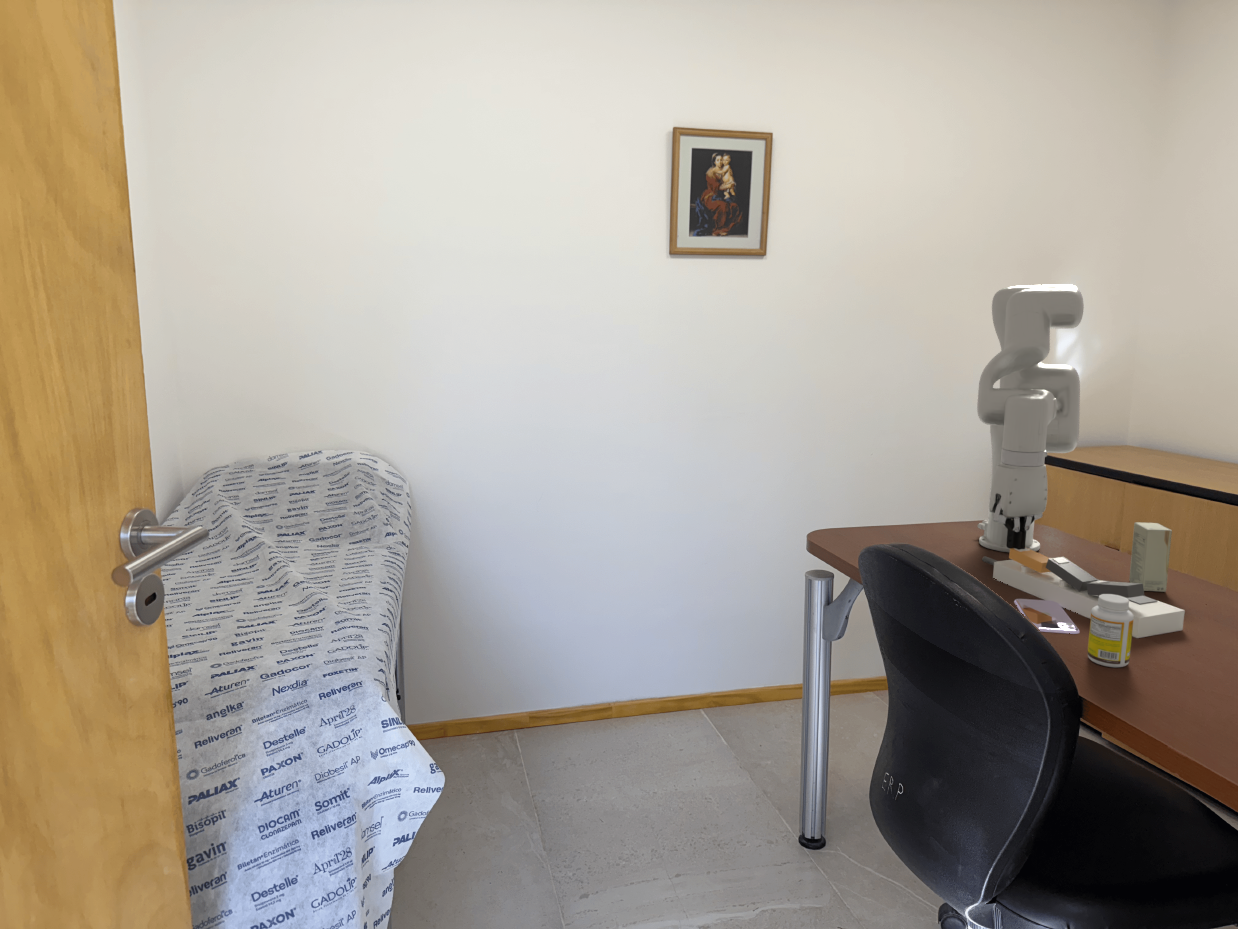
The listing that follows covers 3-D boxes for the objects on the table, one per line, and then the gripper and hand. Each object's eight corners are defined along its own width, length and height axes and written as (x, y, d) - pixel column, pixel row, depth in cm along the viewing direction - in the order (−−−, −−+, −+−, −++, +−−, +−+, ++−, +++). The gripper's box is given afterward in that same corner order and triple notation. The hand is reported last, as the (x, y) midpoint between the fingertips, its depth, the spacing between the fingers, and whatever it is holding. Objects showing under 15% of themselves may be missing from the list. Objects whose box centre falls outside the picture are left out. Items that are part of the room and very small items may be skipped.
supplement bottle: (1111, 652, 126) (1118, 591, 124) (1137, 667, 120) (1144, 603, 119) (1078, 654, 125) (1084, 592, 124) (1102, 670, 120) (1109, 605, 118)
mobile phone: (1057, 599, 147) (1081, 630, 133) (1057, 604, 147) (1081, 636, 133) (1012, 596, 149) (1031, 627, 135) (1012, 601, 149) (1031, 632, 135)
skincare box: (1166, 593, 152) (1174, 530, 149) (1141, 591, 152) (1148, 529, 150) (1151, 581, 158) (1158, 522, 155) (1127, 580, 159) (1133, 521, 156)
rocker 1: (1008, 558, 158) (1010, 547, 157) (1023, 556, 159) (1024, 546, 158) (1040, 573, 150) (1042, 562, 150) (1055, 571, 151) (1057, 560, 151)
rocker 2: (1045, 567, 149) (1048, 557, 148) (1060, 565, 150) (1063, 555, 149) (1079, 591, 142) (1082, 581, 141) (1094, 589, 143) (1098, 579, 142)
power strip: (964, 567, 169) (966, 546, 168) (1003, 561, 172) (1004, 541, 171) (1137, 638, 131) (1140, 611, 130) (1182, 630, 134) (1185, 604, 133)
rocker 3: (1087, 594, 141) (1086, 582, 141) (1103, 592, 142) (1101, 580, 142) (1128, 597, 133) (1126, 585, 133) (1144, 595, 134) (1142, 582, 134)
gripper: (1039, 451, 160) (1032, 539, 163) (976, 457, 156) (970, 547, 160) (1069, 458, 153) (1061, 550, 156) (1004, 465, 149) (997, 559, 152)
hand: (1015, 548), depth 158 cm, fingers closed
